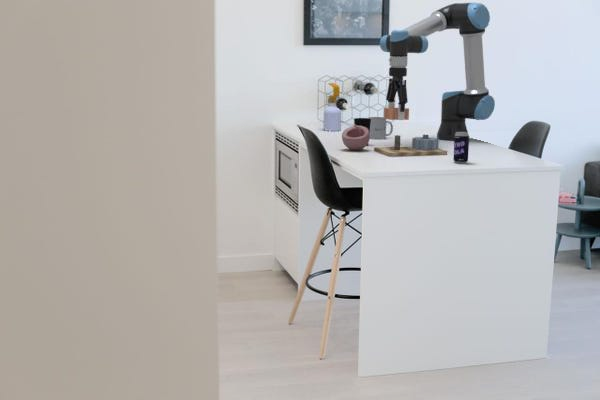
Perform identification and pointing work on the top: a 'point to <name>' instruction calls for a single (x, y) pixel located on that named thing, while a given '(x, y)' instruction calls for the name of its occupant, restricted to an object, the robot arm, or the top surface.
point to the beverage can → (461, 147)
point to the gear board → (407, 150)
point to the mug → (379, 128)
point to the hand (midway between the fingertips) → (395, 118)
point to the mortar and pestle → (356, 137)
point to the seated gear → (425, 143)
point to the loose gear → (394, 113)
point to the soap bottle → (333, 112)
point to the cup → (363, 123)
